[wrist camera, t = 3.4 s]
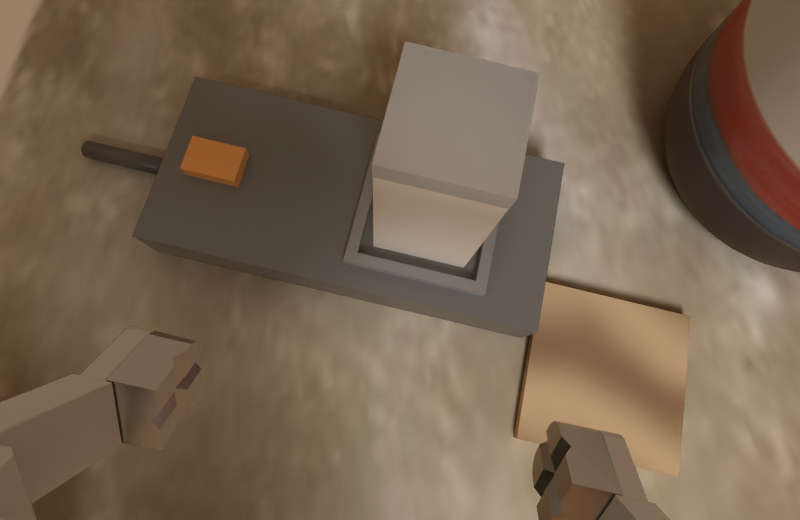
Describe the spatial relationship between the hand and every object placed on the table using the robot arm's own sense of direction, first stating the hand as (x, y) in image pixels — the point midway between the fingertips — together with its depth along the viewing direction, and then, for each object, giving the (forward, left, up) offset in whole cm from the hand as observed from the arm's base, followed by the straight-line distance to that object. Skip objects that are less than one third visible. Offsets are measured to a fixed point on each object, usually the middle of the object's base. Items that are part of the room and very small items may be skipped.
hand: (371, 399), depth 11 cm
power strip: (+10, +6, -16) cm, 20 cm away
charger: (+10, -1, -13) cm, 17 cm away
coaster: (+4, -13, -16) cm, 21 cm away
